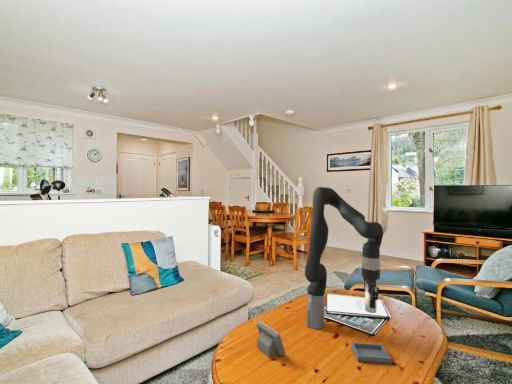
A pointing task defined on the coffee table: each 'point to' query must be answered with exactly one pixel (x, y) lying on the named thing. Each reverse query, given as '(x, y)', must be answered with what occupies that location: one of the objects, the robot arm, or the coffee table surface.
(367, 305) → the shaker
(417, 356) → the coffee table surface
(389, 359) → the tray
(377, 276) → the robot arm
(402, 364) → the coffee table surface
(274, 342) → the digital clock
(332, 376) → the coffee table surface
